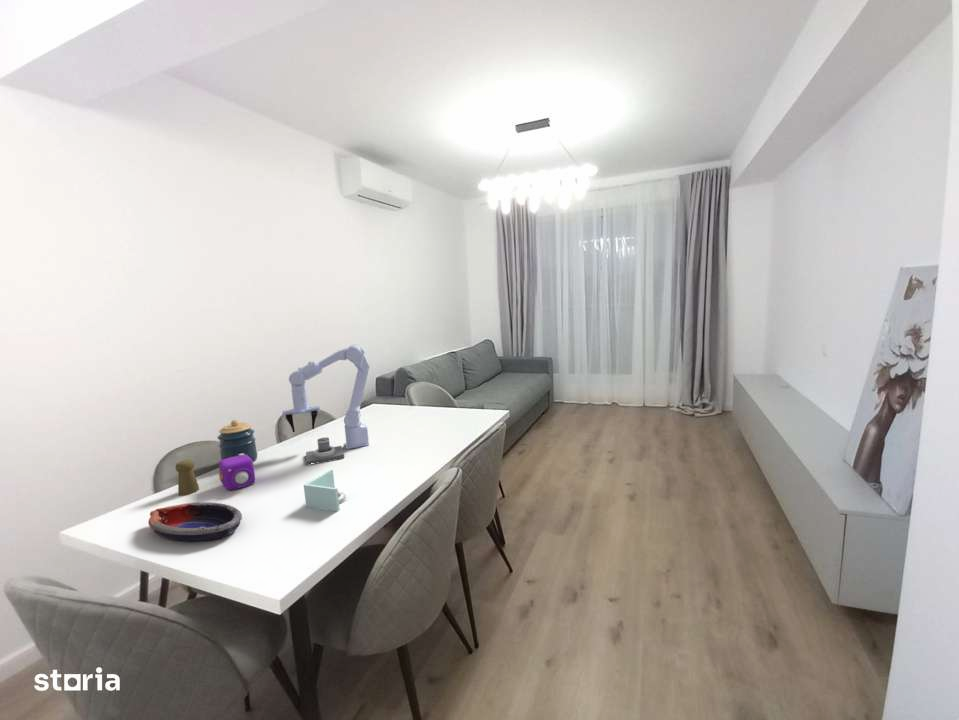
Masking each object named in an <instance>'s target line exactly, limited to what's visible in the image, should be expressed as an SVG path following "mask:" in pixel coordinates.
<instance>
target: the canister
mask: <svg viewBox="0 0 959 720" xmlns="http://www.w3.org/2000/svg"><path fill="white" fill-rule="evenodd" d="M218 433H219V435H218V436H217V440H218V441H219V443H218V447H219V455H220V461H221V460H223V459H227V458H231V457H235V456H238V455H239V454H241V453H244V454H246V455H248V456H249V457H250V458H251V459H252V461H253V463H254V462H255V461H257V459H258V450H257V445H256V438H255V437H254V433H255V430H254V429H252V425H251V424H249V423H247V422H239V421H238V420H236V419H233V420H232V421H231V422H230V424H227V425H225V426H223V427H222V428H220V430H219V431H218Z"/></svg>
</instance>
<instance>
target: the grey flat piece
mask: <svg viewBox="0 0 959 720" xmlns="http://www.w3.org/2000/svg"><path fill="white" fill-rule="evenodd" d="M305 457H306V458H305V459H306V465H307V464H311V463H316V464H318V463H317V462H321V463H324V462H323V461H327V462H330V461H329V460H332V461H335V460H334V459H337V460H341V459H340V458H342V459H344V458H345V453H344V451H343V447H342V445H337V446H330V451H327V452H319V450H318V448H316V449H314V450H309V451H306V452H305ZM311 465H312V464H311Z"/></svg>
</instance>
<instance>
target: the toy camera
mask: <svg viewBox="0 0 959 720" xmlns="http://www.w3.org/2000/svg"><path fill="white" fill-rule="evenodd" d="M255 474H256V473H255V466H254V462H253V461H252V459H251V458H250V457H249V456H248V455H246V454H244V453H241V454H239V455H238V456H235V457H231V458H227V459H223V460H221V459H220V461H219V462H218V475H219V476H218V477H219V482H221V484H222V486H223V487H224V489H225V490H226V491H235V490H237V489H241V488H243V487H244V488H245V487H247V486H250V485H252V484H254V483H255V482H256V475H255Z"/></svg>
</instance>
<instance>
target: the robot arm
mask: <svg viewBox="0 0 959 720" xmlns="http://www.w3.org/2000/svg"><path fill="white" fill-rule="evenodd" d="M346 360H348V361H349V362H351V363H353V365H354V366H355V367H356V369H357V373H356V377H355V381H354V385H353V390H352V395H351V399H350V402H349V407H348V410H347V411H346V413H345V416H344V419H343V422H344V433H345V442H344V446H345V448H346V450H349V449H350V450H351V449H355V448H362V447H365V446H369V445H370V442H369V433H368V432H369V431H368V427H367V423H362V422H361V420H360V418H361V412H360V411H361V406H362V401H363V395H364V392H365V387H366V383H367V379H368V374H369V370H370V364H369V361H368V358H367V356H366V353H365V351H364V349H363V348H362V347H361V346H360V345H358V344H352V345H350V346H349V347H344V348H342V349H340V350H339V349H338V350H336V352H334V353H332V354H330V355H328V356H327V357H326V358H324V359H322V360H321V361H317V360H313V361H309V362H307V363H308V364H306V365H304V366H303V367H298V368H297V370H295V371H293V372H292V373H290V374H289V376H288V382H289V383H290V387H291V397H292V407H293V408H292V409H288V410H287V409H286V410H282V411H281V412H282V417H285V420H287V422H288V423H289V426H290V427H291V431H292V433H295V432H296V431H295V426H294V425H295V424H294V417H293V415H295V416H296V415H300V414H301V415H302V414H307V413H310V416H311V429H312V430H314V429H315V423H316V419H317V416H318V412H321V409H320V408H321V407H320V405H317V406H309V402H308V391H307V386H306V381H309V380H311V379H312V378H315V377H317V376H318V375H320V374H322V372H323V369H324V368H326V367H328V366H330V365H332V364H334V363H336V362H339V361H346Z"/></svg>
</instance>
